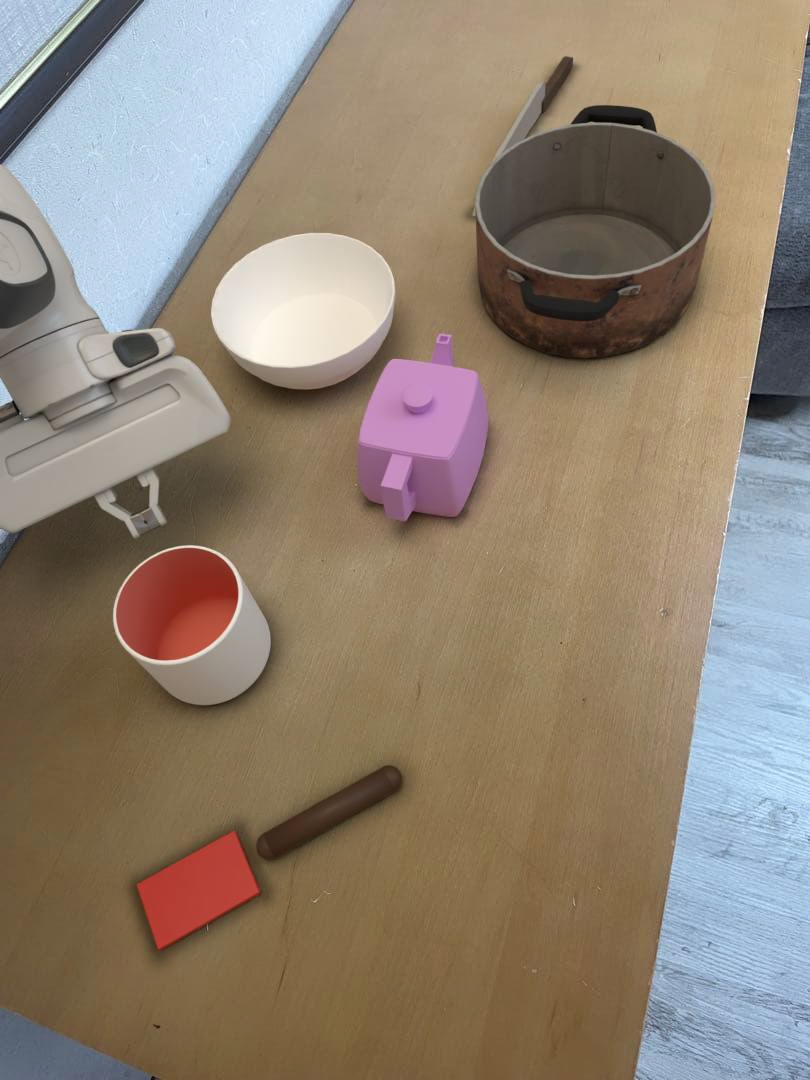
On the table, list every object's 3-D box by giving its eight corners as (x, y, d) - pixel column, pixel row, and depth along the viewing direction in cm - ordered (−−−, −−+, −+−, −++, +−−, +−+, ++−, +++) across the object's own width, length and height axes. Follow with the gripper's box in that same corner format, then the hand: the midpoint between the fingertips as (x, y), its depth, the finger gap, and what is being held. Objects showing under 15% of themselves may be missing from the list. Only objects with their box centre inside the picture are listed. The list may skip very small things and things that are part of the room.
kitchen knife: (566, 38, 106) (468, 182, 93) (574, 40, 106) (477, 184, 93) (563, 72, 110) (470, 215, 97) (572, 73, 109) (478, 217, 96)
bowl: (199, 388, 88) (175, 339, 81) (283, 270, 95) (268, 216, 89) (355, 438, 82) (342, 389, 76) (431, 308, 90) (425, 254, 84)
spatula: (160, 950, 61) (150, 948, 59) (139, 885, 63) (128, 881, 61) (417, 804, 64) (414, 798, 62) (387, 747, 66) (383, 740, 65)
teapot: (402, 380, 85) (390, 305, 76) (505, 396, 83) (504, 320, 74) (346, 529, 77) (324, 464, 68) (457, 552, 75) (450, 488, 66)
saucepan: (512, 179, 99) (512, 92, 90) (710, 198, 94) (731, 107, 85) (445, 372, 85) (438, 292, 76) (673, 407, 80) (694, 325, 71)
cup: (144, 633, 74) (96, 581, 65) (248, 582, 75) (215, 524, 67) (181, 731, 69) (135, 688, 60) (292, 674, 70) (262, 624, 62)
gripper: (-72, 435, 62) (26, 596, 66) (183, 320, 66) (263, 480, 69) (-50, 431, 68) (39, 579, 72) (183, 327, 72) (256, 473, 75)
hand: (151, 530), depth 71 cm, fingers closed
